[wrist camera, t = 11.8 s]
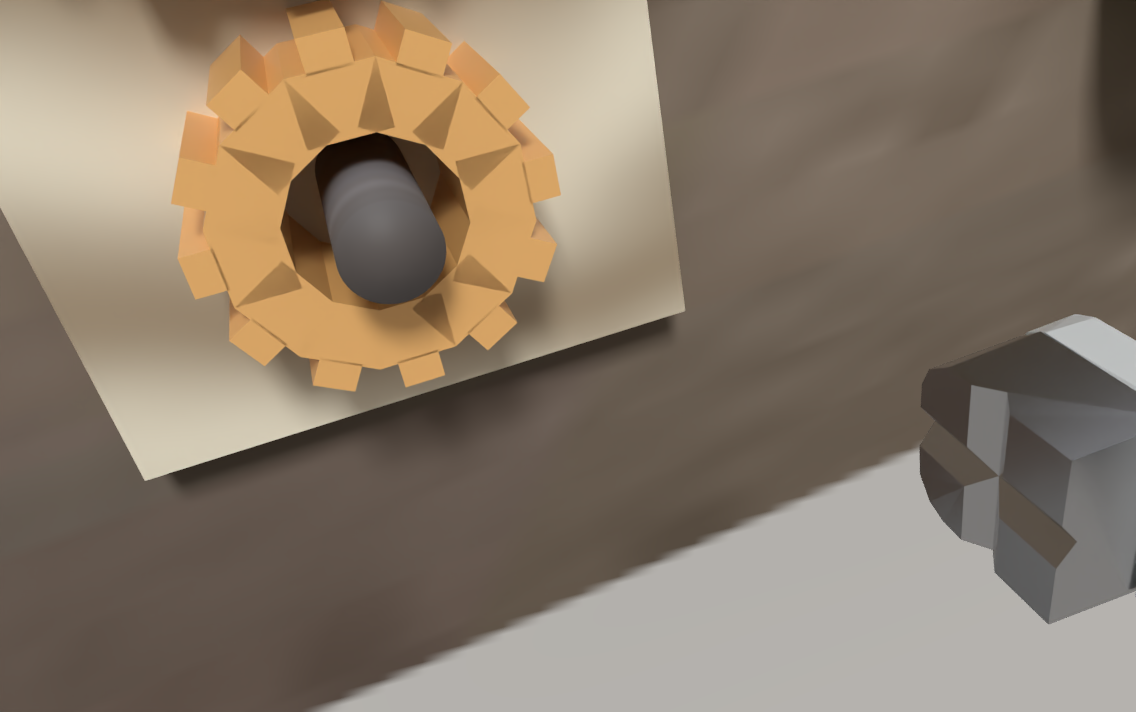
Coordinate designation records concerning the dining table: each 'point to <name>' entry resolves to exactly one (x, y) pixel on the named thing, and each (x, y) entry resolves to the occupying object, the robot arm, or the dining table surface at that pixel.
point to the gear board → (312, 203)
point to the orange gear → (334, 114)
